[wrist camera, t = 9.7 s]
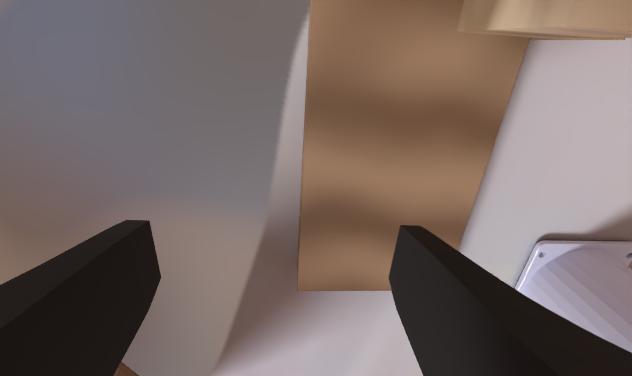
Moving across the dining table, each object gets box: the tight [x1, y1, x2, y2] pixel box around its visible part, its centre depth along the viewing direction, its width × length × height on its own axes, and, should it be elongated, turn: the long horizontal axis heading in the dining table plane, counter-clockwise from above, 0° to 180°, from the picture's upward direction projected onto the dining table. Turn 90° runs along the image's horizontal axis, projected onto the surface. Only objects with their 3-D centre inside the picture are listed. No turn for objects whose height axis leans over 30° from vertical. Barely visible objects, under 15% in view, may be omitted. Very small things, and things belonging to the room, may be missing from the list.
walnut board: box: [297, 0, 530, 291], centre depth 16 cm, size 22×10×2 cm, turn 176°
